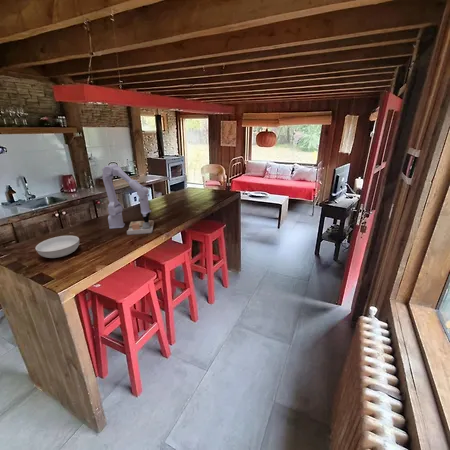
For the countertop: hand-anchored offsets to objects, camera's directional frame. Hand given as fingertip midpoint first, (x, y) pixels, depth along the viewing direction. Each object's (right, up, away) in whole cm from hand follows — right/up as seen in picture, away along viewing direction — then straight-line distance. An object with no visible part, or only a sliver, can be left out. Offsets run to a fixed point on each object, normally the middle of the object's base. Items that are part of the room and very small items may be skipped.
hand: (146, 223), depth 180 cm
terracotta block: (-6, -2, -4) cm, 8 cm away
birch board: (-5, -2, +4) cm, 6 cm away
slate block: (+1, -3, -2) cm, 4 cm away
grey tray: (-3, -6, -6) cm, 8 cm away
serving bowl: (-38, -18, -36) cm, 55 cm away
